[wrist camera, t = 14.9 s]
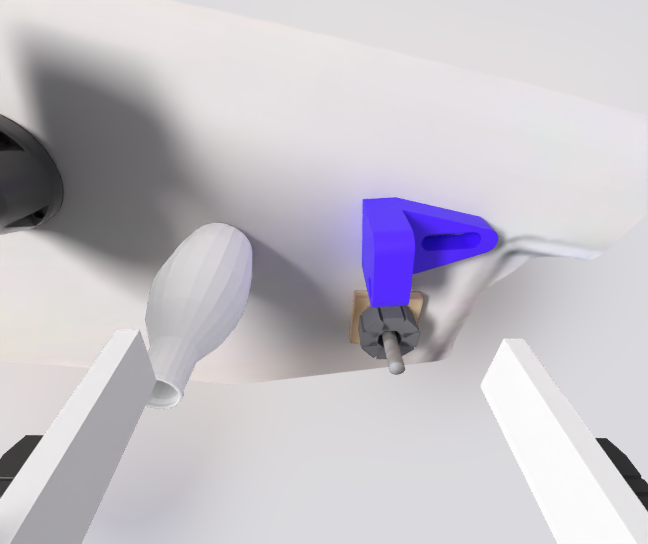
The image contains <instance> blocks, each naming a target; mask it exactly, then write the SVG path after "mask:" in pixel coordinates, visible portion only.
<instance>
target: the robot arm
mask: <svg viewBox="0 0 648 544" xmlns="http://www.w3.org/2000/svg"><path fill="white" fill-rule="evenodd" d="M62 199H63V185H62V181H61V177H60V174H59V172H58V170H57V168H56V166H55V164H54V162H53V160H52V159H51V157H50V156H49V154H48V153H47V152H46V150H45V149H44V148H43V147H42V146H41V145H40V144H39V142H38V141H37V140H36V139H35V138H34V137H32V136H31V135H30V134H29V133H28V132H27V131H25V130H24V129H23V128H21V127H20V126H19V125H17V124H16V123H14V122H12V121H11V120H9V119H7V118H5V117H3V116H1V115H0V235H2V234H7V233H13V232H18V231H23V230H28V229H31V228H34V227H36V226H39V225H40V224H42V223H44V222H45V221H47V220H48V219H50V218H51V217H53V216H54V215H55V214H56V213H57V211H58V210H59V208H60V206H61V203H62ZM156 381H157V380H156V377H155V374H154V371H153V368H152V365H151V362H150V359H149V356H148V353H147V350H146V347H145V344H144V341H143V338H142V335H141V332H140V330H131V329H117V330H116V331H115V333H114V334H113V336H112V337H111V339H110V340H109V341H108V343H107V344H106V346H105V347H104V349H103V350H102V352H101V353H100V355H99V356H98V357H97V359H96V360H95V362H94V363H93V365H92V366H91V368H90V369H89V371H88V372H87V373H86V375H85V376H84V378H83V379H82V381H81V382H80V384H79V385H78V387H77V388H76V390H75V391H74V392H73V394H72V395H71V397H70V398H69V400H68V401H67V403H66V404H65V406H64V407H63V408H62V410H61V411H60V413H59V414H58V416H57V417H56V419H55V420H54V422H53V423H52V424H51V426H50V427H49V429H48V430H47V432H46V433H45V435H40V436H39V435H38V436H37V435H26V436H25V437H24V438H22V439H21V440H20V441H19V442H18V443H16V444H15V445H14V446H13V447H12V448H11V449H9V450H8V451H7V452H6V453H5V454H4V455H3V456H2V458H1V459H0V544H81V543H82V541H83V539H84V537H85V534H86V532H87V530H88V528H89V526H90V524H91V522H92V520H93V517H94V515H95V513H96V511H97V509H98V507H99V504H100V502H101V500H102V498H103V495H104V493H105V491H106V489H107V487H108V485H109V483H110V481H111V479H112V476H113V474H114V472H115V470H116V468H117V466H118V463H119V461H120V459H121V457H122V455H123V453H124V451H125V448H126V446H127V444H128V442H129V440H130V438H131V435H132V433H133V431H134V429H135V427H136V424H137V422H138V420H139V418H140V416H141V414H142V412H143V409H144V407H145V405H146V403H147V401H148V399H149V397H150V394H151V392H152V390H153V388H154V386H155V384H156ZM480 386H481V389H482V391H483V392H484V395H485V397H486V399H487V401H488V403H489V405H490V407H491V409H492V411H493V413H494V415H495V417H496V419H497V421H498V423H499V425H500V428H501V430H502V431H503V434H504V436H505V438H506V440H507V442H508V444H509V446H510V448H511V450H512V452H513V454H514V456H515V458H516V460H517V462H518V464H519V466H520V468H521V470H522V472H523V474H524V476H525V479H526V481H527V483H528V485H529V487H530V489H531V491H532V493H533V495H534V497H535V499H536V500H537V503H538V505H539V507H540V509H541V511H542V513H543V515H544V517H545V519H546V521H547V523H548V525H549V527H550V530H551V532H552V534H553V536H554V538H555V540H556V542H557V544H648V484H647V482H646V481H645V480H643V479H642V478H641V475H640V473H639V472H638V471H637V469H636V468H635V467H634V465H633V464H632V463H631V461H630V460H629V459H628V457H627V456H626V455H625V454H624V453H623V452H621V451H620V450H619V449H618V448H617V447H616V446H615V445H614V444H612V443H611V442H610V441H609V440H608V439H607V438H594V436H593V435H592V433H591V432H590V431H589V429H588V428H587V426H586V425H585V424H584V422H583V421H582V419H581V418H580V417H579V415H578V414H577V413H576V411H575V410H574V408H573V407H572V406H571V404H570V403H569V401H568V400H567V399H566V397H565V396H564V394H563V393H562V392H561V390H560V389H559V387H558V386H557V385H556V383H555V382H554V380H553V379H552V378H551V376H550V375H549V374H548V372H547V371H546V369H545V368H544V366H543V365H542V364H541V362H540V361H539V360H538V358H537V357H536V355H535V354H534V353H533V351H532V350H531V348H530V347H529V346H528V344H527V343H526V341H525V340H524V339H510V338H504V339H503V341H502V343H501V345H500V347H499V349H498V351H497V353H496V355H495V357H494V359H493V361H492V363H491V365H490V367H489V369H488V371H487V373H486V375H485V377H484V379H483V381H482V383H481V385H480Z"/></svg>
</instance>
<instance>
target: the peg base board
mask: <svg viewBox="0 0 648 544" xmlns="http://www.w3.org/2000/svg"><path fill="white" fill-rule="evenodd" d="M423 300H424V299H423V297H422V294H421V292H410V301H409V304H408V306H406V307H407V308H408V309H409V310H410V311H411V312H412V313H413V315H414V318H415V321H416V323H418V319H419V315H420V312H421V308H422V304H423ZM370 306H371V305H370V301H369V296H368V291H354V299H353V308H352V317H351V327H350V342H351V343H360V338H359V331H358V326H359V318H360V315H362V312H363V311H365V310H366V309H367V308H369V307H370ZM381 335H382V339H383V343H384V348H385V352H386V357H387V361H388V366H389V370H390V372H391V373H392V374H395V375H397V374H401V373H403V372H404V371H405V367H404V363H403V359H402V356H401V352H400V348H399V345H398V341H397V338H396V334H395V331H385V332H384V333H382V334H381Z"/></svg>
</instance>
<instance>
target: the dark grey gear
mask: <svg viewBox="0 0 648 544" xmlns="http://www.w3.org/2000/svg"><path fill="white" fill-rule="evenodd" d="M358 331H359V338H360V345H361V346H362V349H363V350H364V351H365V352H367V353H368V354H369V355H370V356H372V357H373V358H374V357H376V356H377V359H387V357H386V352H385V348H384V343H383V339H382V335H381V334H382V333H384V332H385V331H395V334H396V338H397V341H398V345H399V348H400V352H401V356H403V355H405V354H407V353H408V352H410V351H412V350H414V348H413V347H416V346H417V342H418V338H419V334H420V332H419V329H418V326H417V323H416V321H415V318H414V315H413V313H412V312H411V311H410V310H409V309H408V308H407V307H406V306H392V307H374V308H371V306H370V307H369V308H367V309H366V310H365V311H363V312H362V315H360V318H359V326H358Z"/></svg>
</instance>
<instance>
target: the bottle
mask: <svg viewBox="0 0 648 544" xmlns="http://www.w3.org/2000/svg"><path fill="white" fill-rule="evenodd" d="M251 280H252V247H251V244H250V242H249V240H248V239H247V237H246V236H245V235H244V234H243V233H242V232H241V231H239V230H238V229H236V228H235V227H233V226H230V225H227V224H224V223H210V224H205V225H203V226H202V227H200V228H198V229H197V230H196V231H194V232H193V233H192V234H191V235H190V236H189V237H187V238H186V239H185V240H184V241H183V242H182V243H181V244H180V245H179V246H178V248H177V249H176V250H175V251H174V252H173V254H172V255H171V256H170V257H169V259H168V260H167V261H166V262H165V264H164V265H163V266H162V267H161V269H160V270H159V271H158V273H157V274H156V276H155V279H154V282H153V284H152V287H151V289H150V293H149V298H148V303H147V310H146V317H145V322H146V327H147V332H148V337H149V343H150V349H149V351H148V356H149V359H150V362H151V365H152V368H153V371H154V374H155V377H156V380H157V381H156V384H155V386H154V388H153V390H152V392H151V394H150V397H149V399H148V401H147V403H146V405H145V406H147V407H150V408H155V409H168V408H172V407H175V406H177V405H178V404H179V403H180V402H181V400H182V398H183V396H184V392H183V390H184V388H185V386H186V384H187V382H188V379H189V377H190V375H191V373H192V371H193V368H194V366H195V364H196V362H198V361H199V360H200V359H202V358H203V357H205V356H206V355H208V354H209V353H211V352H212V351H214V350H215V349H217V348H218V347H219V346H220V345H221V344H222V343H223V342H224V340H225V339H226V338H227V337H228V336H229V334H230V333H231V332H232V331H233V330H234V328H235V327H236V325H237V323H238V321H239V319H240V318H241V316H242V314H243V312H244V309H245V307H246V305H247V301H248V296H249V291H250V285H251Z"/></svg>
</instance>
